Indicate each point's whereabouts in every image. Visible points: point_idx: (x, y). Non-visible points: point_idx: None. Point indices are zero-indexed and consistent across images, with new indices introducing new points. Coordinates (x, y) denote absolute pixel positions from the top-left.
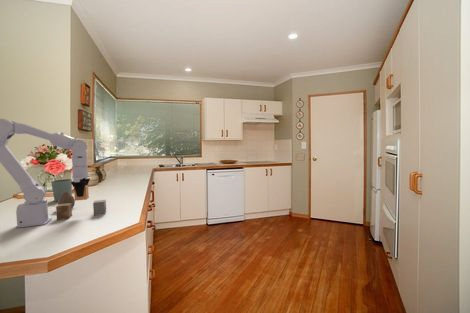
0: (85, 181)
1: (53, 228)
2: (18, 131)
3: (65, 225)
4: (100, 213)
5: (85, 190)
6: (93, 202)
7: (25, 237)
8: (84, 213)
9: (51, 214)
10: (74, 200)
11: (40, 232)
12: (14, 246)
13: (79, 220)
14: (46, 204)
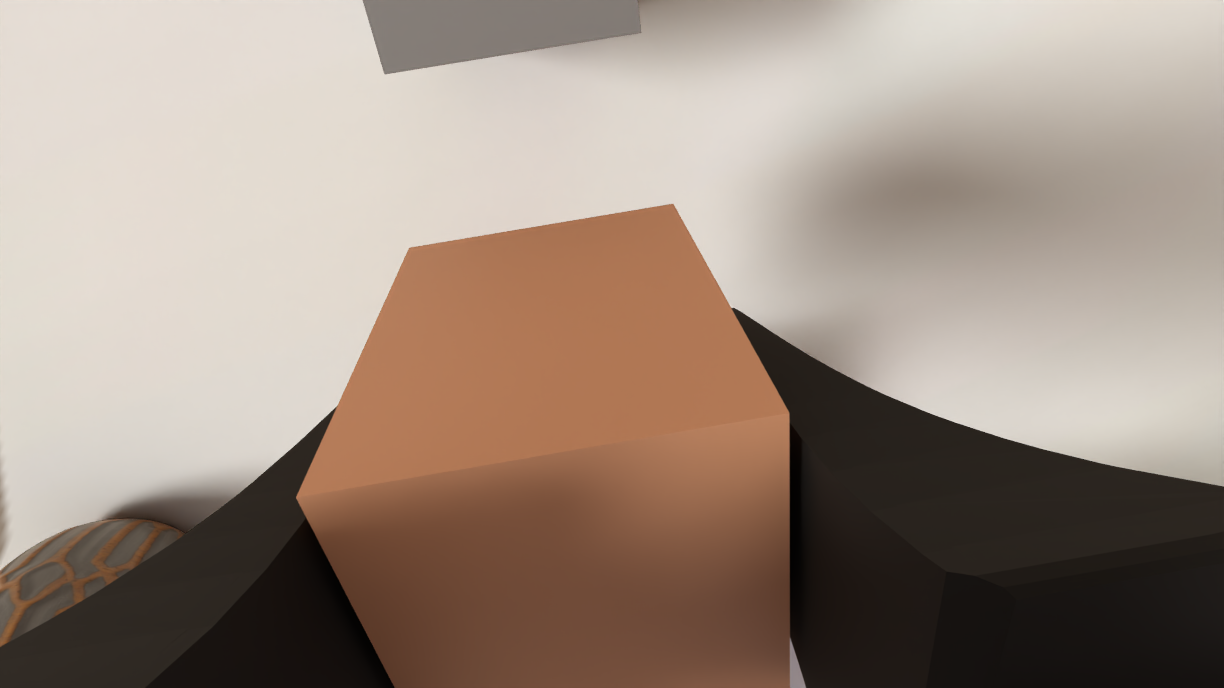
0: (1195, 592)
1: (1012, 326)
2: None
3: (966, 245)
4: None
5: (740, 336)
6: (595, 39)
7: (1153, 433)
8: (427, 232)
9: None
10: (13, 587)
11: (1079, 385)
12: None
13: (814, 152)
14: (792, 676)
